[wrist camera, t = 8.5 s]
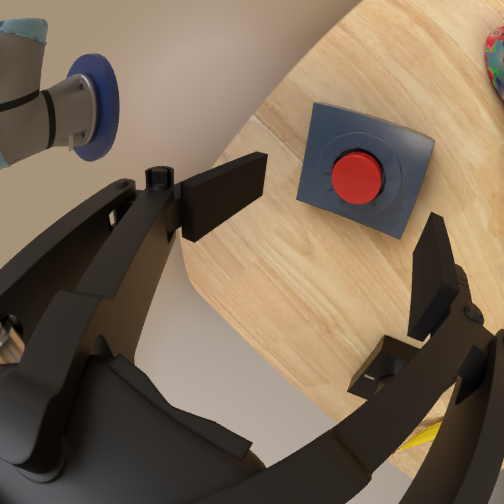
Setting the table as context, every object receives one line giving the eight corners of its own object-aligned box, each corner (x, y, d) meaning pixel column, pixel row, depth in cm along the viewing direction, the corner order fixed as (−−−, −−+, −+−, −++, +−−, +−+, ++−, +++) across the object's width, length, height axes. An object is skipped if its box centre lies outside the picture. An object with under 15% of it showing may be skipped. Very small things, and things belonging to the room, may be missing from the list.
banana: (402, 422, 35) (394, 453, 30) (503, 396, 22) (503, 431, 17) (407, 429, 35) (399, 459, 30) (504, 405, 22) (503, 438, 17)
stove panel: (351, 378, 35) (346, 392, 33) (384, 334, 29) (381, 350, 27) (415, 402, 31) (413, 417, 29) (458, 364, 25) (458, 380, 23)
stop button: (332, 188, 21) (326, 194, 19) (342, 145, 18) (337, 148, 17) (374, 203, 19) (372, 211, 18) (387, 160, 17) (386, 165, 16)
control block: (303, 192, 26) (288, 206, 23) (321, 102, 21) (306, 101, 18) (400, 229, 22) (399, 249, 20) (431, 137, 17) (438, 143, 14)
